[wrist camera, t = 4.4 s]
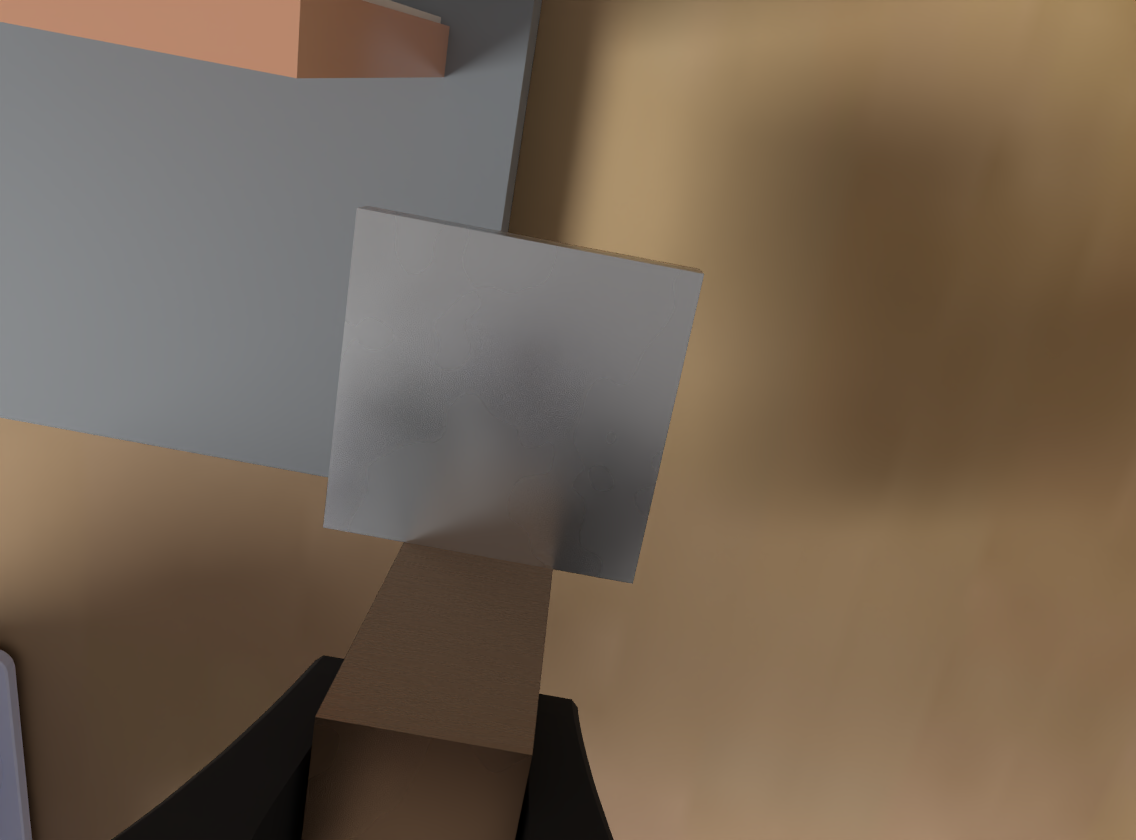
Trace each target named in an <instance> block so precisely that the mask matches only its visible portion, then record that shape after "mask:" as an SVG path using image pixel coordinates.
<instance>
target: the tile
mask: <svg viewBox="0 0 1136 840" xmlns="http://www.w3.org/2000/svg"><path fill="white" fill-rule="evenodd" d="M0 22H4V23H9V24H14V25H20V26H25V27H30V28H35V29H41V30H46V31H51V32H56V33H62V34H67V35H72V36H77V37H83V38H88V39H93V40H98V41H104V42H109V43H114V44H119V45H125V46H130V47H135V48H140V49H146V50H151V51H156V52H161V53H167V54H172V55H177V56H182V57H188V58H193V59H198V60H203V61H209V62H214V63H219V64H224V65H230V66H235V67H240V68H245V69H251V70H256V71H261V72H266V73H272V74H277V75H282V76H287V77H293V78H420V77H444V74H445V65H446V56H447V47H448V38H449V29H450V26H447V25H444V24H440V23H441V17H439V16H436V15H433V14H430V13H427V12H424V11H421V10H418V9H415V8H412V7H409V6H406V5H403V4H400V3H397V2H394V1H391V0H0Z"/></svg>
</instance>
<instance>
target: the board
mask: <svg viewBox="0 0 1136 840" xmlns="http://www.w3.org/2000/svg"><path fill="white" fill-rule="evenodd" d="M391 1H394V2H397V3H400V4H403V5H406V6H409V7H412V8H415V9H418V10H421V11H424V12H427V13H430V14H433V15H436V16H439V17H441V23H440V24H444V25H447V26H450V29H449V38H448V47H447V56H446V65H445V74H444V77H420V78H293V77H287V76H282V75H277V74H272V73H266V72H261V71H256V70H251V69H245V68H240V67H235V66H230V65H224V64H219V63H214V62H209V61H203V60H198V59H193V58H188V57H182V56H177V55H172V54H167V53H161V52H156V51H151V50H146V49H140V48H135V47H130V46H125V45H119V44H114V43H109V42H104V41H98V40H93V39H88V38H83V37H77V36H72V35H67V34H62V33H56V32H51V31H46V30H41V29H35V28H30V27H25V26H20V25H14V24H9V23H4V22H0V417H1V418H6V419H11V420H17V421H22V422H28V423H33V424H39V425H44V426H50V427H55V428H61V429H66V430H72V431H77V432H83V433H88V434H94V435H99V436H105V437H110V438H115V439H121V440H126V441H132V442H137V443H143V444H148V445H154V446H159V447H165V448H170V449H176V450H181V451H187V452H192V453H198V454H203V455H208V456H214V457H219V458H225V459H230V460H236V461H241V462H247V463H252V464H258V465H263V466H269V467H274V468H280V469H285V470H291V471H296V472H301V473H307V474H312V475H318V476H323V477H329V467H330V458H331V448H332V439H333V429H334V420H335V410H336V401H337V391H338V382H339V372H340V363H341V353H342V344H343V334H344V325H345V315H346V306H347V296H348V287H349V277H350V268H351V258H352V249H353V239H354V230H355V220H356V211H357V208H359V207H364V206H372V207H377V208H382V209H387V210H393V211H398V212H403V213H408V214H414V215H419V216H424V217H429V218H435V219H440V220H445V221H450V222H456V223H461V224H466V225H471V226H477V227H482V228H487V229H492V230H498V231H503V232H508V228H509V221H510V214H511V207H512V201H513V194H514V187H515V180H516V174H517V167H518V160H519V153H520V147H521V140H522V133H523V126H524V119H525V113H526V106H527V99H528V92H529V86H530V79H531V72H532V65H533V58H534V52H535V45H536V38H537V31H538V25H539V18H540V11H541V4H542V0H391Z"/></svg>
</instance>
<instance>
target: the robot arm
mask: <svg viewBox="0 0 1136 840" xmlns="http://www.w3.org/2000/svg"><path fill="white" fill-rule="evenodd" d="M343 661H344V659H340V658H335V657H329V656H322V657H320V658H319V659H317V660H315V661H314V663H313V664H312V665H311V666H310V667H309V668H308V669H307V670H306V671H305V672H304V673H303V674H302V676H301V677H300V678H299V679H298V680H297V681H296V682H295V683H294V684H293V685H292V686H291V687H290V688H289V689H288V690H287V691H286V692H285V693H284V694H283V695H282V696H281V697H280V698H279V699H278V700H277V701H276V702H275V703H274V704H273V705H272V706H271V707H270V708H269V709H268V710H267V711H266V712H265V713H264V714H263V715H262V716H261V717H260V718H259V719H258V720H257V721H256V722H254V723H253V724H252V725H251V726H250V727H249V728H248V729H247V730H246V731H245V732H244V733H242V734H241V735H240V736H239V737H238V738H237V739H236V740H235V741H234V742H233V743H232V744H230V745H229V746H228V747H227V748H226V749H225V750H224V751H223V752H222V753H221V754H219V755H218V756H217V757H216V758H215V759H214V760H213V761H211V762H210V763H209V764H208V765H207V766H205V767H204V768H203V769H202V770H201V771H199V772H198V773H197V774H196V775H194V776H193V777H192V778H191V779H190V780H188V781H187V782H186V783H185V784H184V785H182V786H181V787H180V788H179V789H178V790H176V791H175V792H174V793H173V794H172V795H170V796H169V797H168V798H167V799H165V800H164V801H163V802H162V803H160V804H159V805H158V806H156V807H155V808H154V809H152V810H151V811H150V812H149V813H147V814H146V815H145V816H143V817H142V818H141V819H139V820H138V821H137V822H135V823H134V824H133V825H131V826H130V827H128V828H127V829H126V830H124V831H123V832H121V833H120V834H119V835H117V836H116V837H114V838H113V839H112V840H302V831H303V822H304V813H305V804H306V795H307V786H308V777H309V767H310V758H311V749H312V740H313V731H314V722H315V716H316V714H317V712H318V710H319V708H320V706H321V704H322V702H323V700H324V698H325V696H326V694H327V692H328V691H329V689H330V687H331V685H332V683H333V681H334V679H335V677H336V675H337V673H338V671H339V669H340V667H341V665H342V663H343ZM0 840H32V834H31V824H30V814H29V804H28V793H27V783H26V773H25V763H24V753H23V743H22V732H21V722H20V712H19V702H18V692H17V681H16V671H15V664H14V661H13V659H12V658H11V657H10V655H9V654H7V653H6V652H4V651H2V650H0ZM515 840H614V839H613V837H612V834H611V831H610V829H609V826H608V823H607V820H606V817H605V814H604V811H603V808H602V805H601V802H600V799H599V796H598V793H597V790H596V787H595V783H594V780H593V777H592V773H591V770H590V766H589V762H588V758H587V755H586V751H585V747H584V742H583V738H582V733H581V728H580V722H579V716H578V708H577V706H576V705H575V703H574V702H573V701H572V699H566V698H560V697H555V696H549V695H543V694H539V698H538V707H537V717H536V726H535V735H534V744H533V753H532V759H531V764H530V769H529V774H528V778H527V783H526V788H525V793H524V798H523V803H522V808H521V813H520V818H519V822H518V827H517V832H516V837H515Z"/></svg>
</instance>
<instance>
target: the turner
mask: <svg viewBox="0 0 1136 840" xmlns="http://www.w3.org/2000/svg"><path fill="white" fill-rule="evenodd" d="M703 277H704V273H703V272H702V271H701V270H700V269H697V268H692V267H687V266H682V265H676V264H671V263H666V262H661V261H655V260H650V259H645V258H640V257H634V256H629V255H624V254H619V253H613V252H608V251H603V250H598V249H592V248H587V247H582V246H577V245H571V244H566V243H561V242H555V241H550V240H545V239H540V238H534V237H529V236H524V235H519V234H513V233H508V232H503V231H498V230H492V229H487V228H482V227H477V226H471V225H466V224H461V223H456V222H450V221H445V220H440V219H435V218H429V217H424V216H419V215H414V214H408V213H403V212H398V211H393V210H387V209H382V208H377V207H372V206H364V207H359V208H357V211H356V220H355V230H354V239H353V249H352V258H351V268H350V277H349V287H348V296H347V306H346V315H345V325H344V334H343V344H342V353H341V363H340V372H339V382H338V391H337V401H336V410H335V420H334V429H333V439H332V448H331V458H330V467H329V477H328V486H327V496H326V505H325V515H324V524H323V527H324V528H329V529H335V530H340V531H346V532H351V533H357V534H362V535H368V536H373V537H379V538H384V539H390V540H395V541H401V542H404V543H403V545H402V547H401V549H400V551H399V553H398V555H397V557H396V559H395V561H394V563H393V565H392V567H391V569H390V571H389V573H388V575H387V577H386V579H385V581H384V583H383V584H382V586H381V588H380V590H379V592H378V594H377V596H376V598H375V600H374V602H373V604H372V606H371V608H370V610H369V612H368V614H367V616H366V618H365V620H364V622H363V624H362V626H361V628H360V630H359V632H358V634H357V636H356V638H355V639H354V641H353V643H352V645H351V647H350V649H349V651H348V653H347V655H346V657H345V659H344V661H343V663H342V665H341V667H340V669H339V671H338V673H337V675H336V677H335V679H334V681H333V683H332V685H331V687H330V689H329V691H328V692H327V694H326V696H325V698H324V700H323V702H322V704H321V706H320V708H319V710H318V712H317V714H316V716H315V722H314V731H313V740H312V749H311V758H310V767H309V777H308V786H307V795H306V804H305V813H304V822H303V831H302V840H515V837H516V832H517V827H518V822H519V818H520V813H521V808H522V803H523V798H524V793H525V788H526V783H527V778H528V774H529V769H530V764H531V759H532V753H533V744H534V735H535V726H536V717H537V707H538V698H539V689H540V680H541V671H542V662H543V653H544V644H545V634H546V625H547V616H548V607H549V598H550V589H551V580H552V571H553V569H555V570H561V571H566V572H572V573H577V574H583V575H588V576H594V577H599V578H605V579H610V580H616V581H621V582H627V583H632V584H633V580H634V576H635V571H636V567H637V563H638V558H639V554H640V550H641V545H642V541H643V537H644V532H645V528H646V524H647V519H648V515H649V511H650V506H651V502H652V498H653V493H654V489H655V485H656V480H657V476H658V472H659V467H660V463H661V459H662V454H663V450H664V446H665V441H666V437H667V433H668V428H669V424H670V420H671V415H672V411H673V407H674V402H675V398H676V394H677V389H678V385H679V381H680V376H681V372H682V368H683V363H684V359H685V355H686V350H687V346H688V342H689V337H690V333H691V329H692V324H693V320H694V316H695V311H696V307H697V303H698V298H699V294H700V290H701V285H702V281H703Z"/></svg>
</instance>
